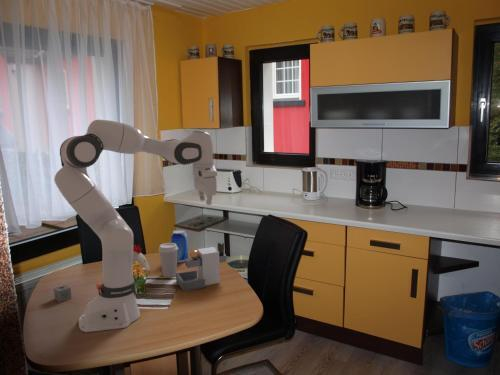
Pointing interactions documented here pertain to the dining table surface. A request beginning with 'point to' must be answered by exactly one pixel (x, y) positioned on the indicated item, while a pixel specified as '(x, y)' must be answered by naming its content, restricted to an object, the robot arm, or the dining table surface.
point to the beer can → (180, 244)
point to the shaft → (198, 262)
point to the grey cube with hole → (62, 293)
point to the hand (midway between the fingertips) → (205, 202)
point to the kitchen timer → (140, 257)
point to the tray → (189, 281)
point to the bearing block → (209, 265)
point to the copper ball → (194, 254)
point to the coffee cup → (168, 259)
